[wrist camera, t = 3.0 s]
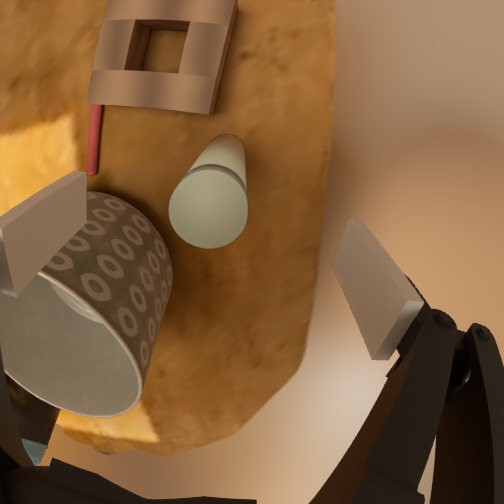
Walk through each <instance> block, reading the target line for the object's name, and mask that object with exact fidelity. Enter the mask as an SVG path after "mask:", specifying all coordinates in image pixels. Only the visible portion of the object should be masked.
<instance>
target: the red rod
mask: <svg viewBox="0 0 504 504" xmlns="http://www.w3.org/2000/svg"><path fill="white" fill-rule="evenodd" d="M102 106H103V105H99V104H92V111H91V120H90V130H89V142H88V157H87V174H88V175H89V176H94V175H95V174H96V172H97V156H98V143H99V132H100V122H101V114H102Z"/></svg>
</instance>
